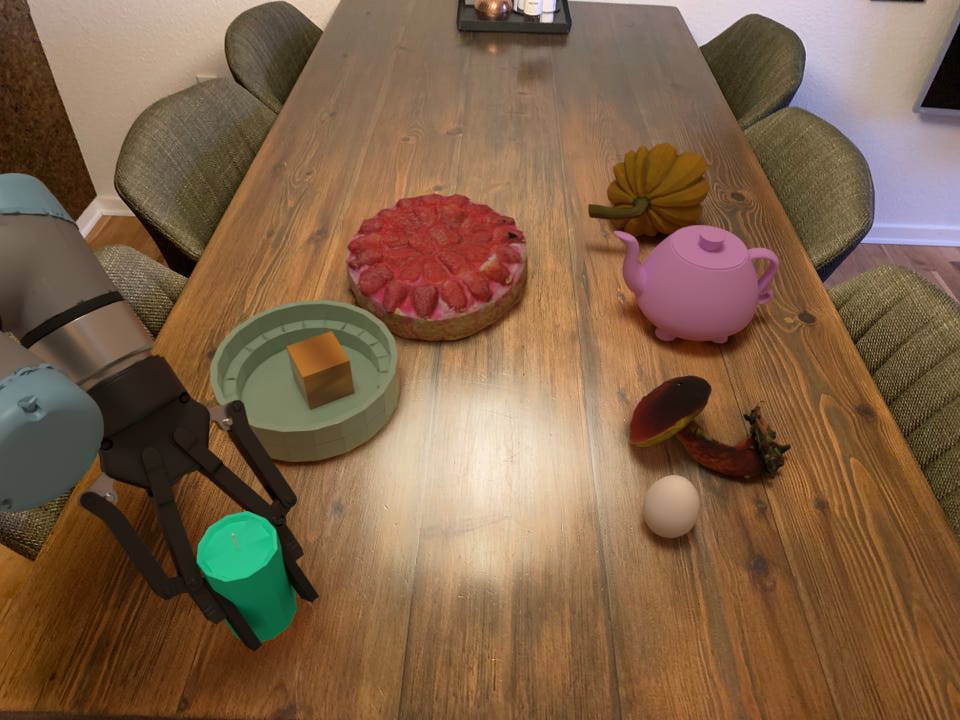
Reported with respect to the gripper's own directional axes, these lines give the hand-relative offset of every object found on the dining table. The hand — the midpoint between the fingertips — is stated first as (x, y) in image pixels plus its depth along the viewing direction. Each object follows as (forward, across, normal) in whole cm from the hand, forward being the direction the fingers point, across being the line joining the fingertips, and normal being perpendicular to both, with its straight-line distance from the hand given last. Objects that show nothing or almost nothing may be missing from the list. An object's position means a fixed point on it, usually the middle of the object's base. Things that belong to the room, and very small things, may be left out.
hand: (282, 620), depth 57 cm
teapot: (+5, -63, -4) cm, 63 cm away
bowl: (-11, -20, -22) cm, 32 cm away
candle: (0, 0, -5) cm, 5 cm away
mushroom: (+15, -46, +5) cm, 49 cm away
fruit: (-6, -77, -15) cm, 79 cm away
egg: (+17, -34, +7) cm, 38 cm away
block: (-12, -22, -21) cm, 32 cm away
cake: (-15, -46, -25) cm, 54 cm away
